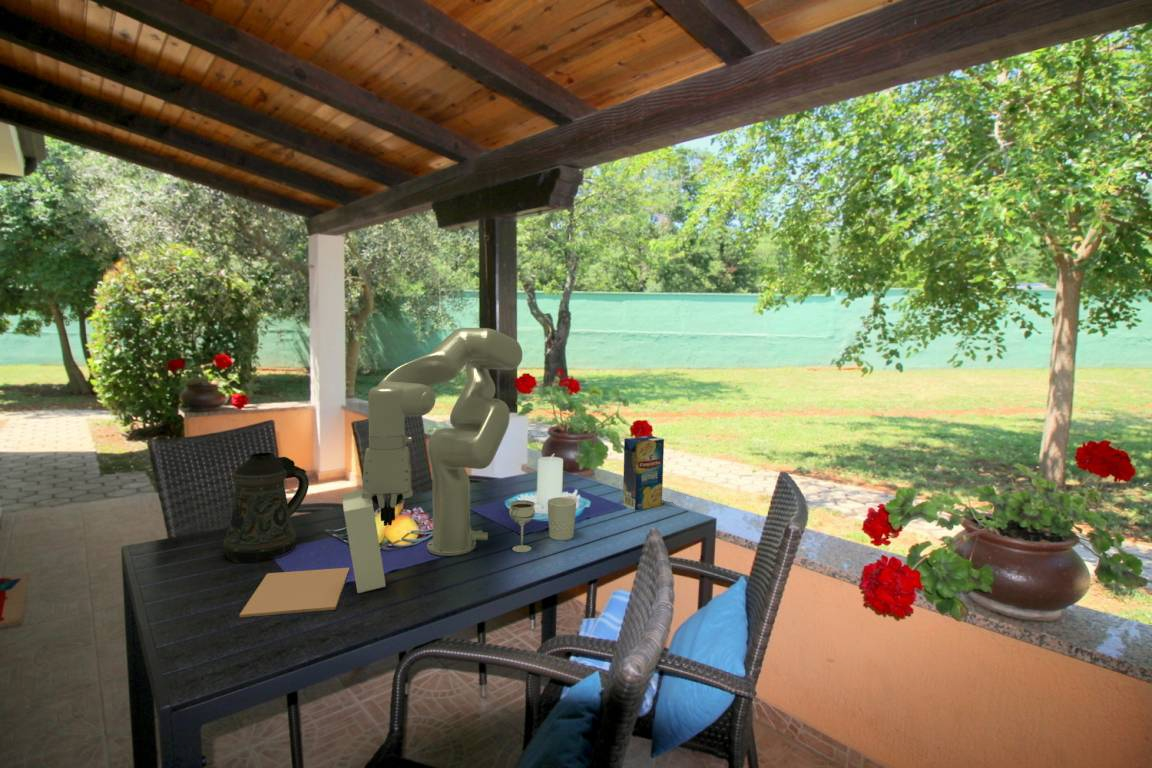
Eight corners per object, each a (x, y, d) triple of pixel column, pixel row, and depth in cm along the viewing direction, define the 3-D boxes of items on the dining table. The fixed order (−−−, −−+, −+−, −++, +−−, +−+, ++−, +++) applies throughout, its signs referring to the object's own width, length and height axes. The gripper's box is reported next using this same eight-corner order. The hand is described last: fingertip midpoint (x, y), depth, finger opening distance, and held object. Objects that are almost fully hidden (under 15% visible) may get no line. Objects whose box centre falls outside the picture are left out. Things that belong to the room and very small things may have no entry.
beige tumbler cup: (579, 539, 166) (580, 504, 165) (552, 542, 163) (553, 506, 162) (569, 529, 173) (570, 496, 172) (543, 533, 170) (543, 498, 169)
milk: (357, 582, 137) (341, 489, 134) (384, 575, 139) (369, 484, 136) (357, 594, 131) (340, 497, 128) (386, 586, 133) (370, 491, 130)
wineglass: (506, 545, 161) (506, 501, 159) (530, 542, 163) (530, 499, 162) (512, 554, 154) (512, 509, 153) (538, 551, 157) (538, 506, 155)
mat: (349, 569, 144) (349, 567, 144) (335, 609, 124) (335, 606, 124) (267, 575, 140) (267, 573, 140) (239, 617, 120) (239, 614, 120)
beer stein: (208, 558, 149) (203, 459, 147) (269, 532, 168) (265, 444, 165) (261, 567, 144) (257, 465, 142) (318, 539, 163) (315, 448, 160)
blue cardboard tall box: (662, 505, 197) (664, 439, 195) (635, 510, 192) (637, 442, 189) (648, 499, 203) (650, 435, 201) (622, 504, 197) (624, 438, 195)
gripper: (422, 438, 138) (422, 516, 140) (353, 440, 134) (354, 520, 136) (421, 444, 131) (422, 527, 132) (348, 446, 127) (350, 531, 129)
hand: (388, 523), depth 134 cm, fingers closed
